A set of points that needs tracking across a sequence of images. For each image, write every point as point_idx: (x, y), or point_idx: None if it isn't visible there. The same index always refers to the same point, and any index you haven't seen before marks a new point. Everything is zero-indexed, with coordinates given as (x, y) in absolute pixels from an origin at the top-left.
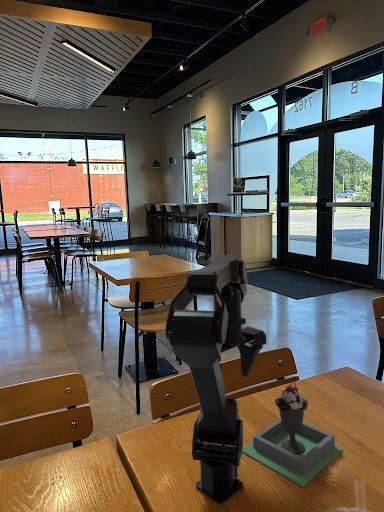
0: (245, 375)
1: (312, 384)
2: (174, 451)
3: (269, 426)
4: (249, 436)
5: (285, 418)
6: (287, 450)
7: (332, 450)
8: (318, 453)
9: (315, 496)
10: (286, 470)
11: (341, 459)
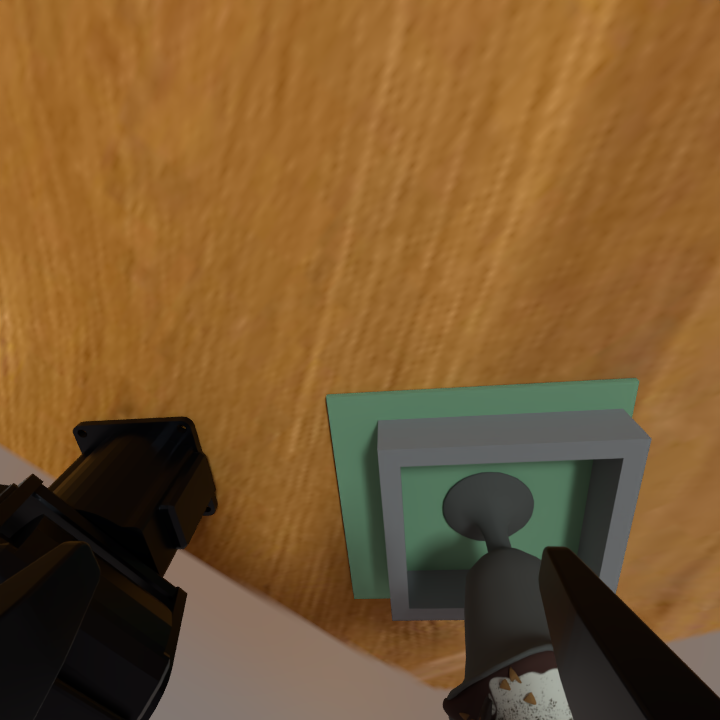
0: (545, 600)
1: None
2: (75, 204)
3: (495, 451)
4: (432, 353)
5: (465, 643)
6: (450, 513)
7: None
8: None
9: (353, 620)
10: (369, 548)
11: None
